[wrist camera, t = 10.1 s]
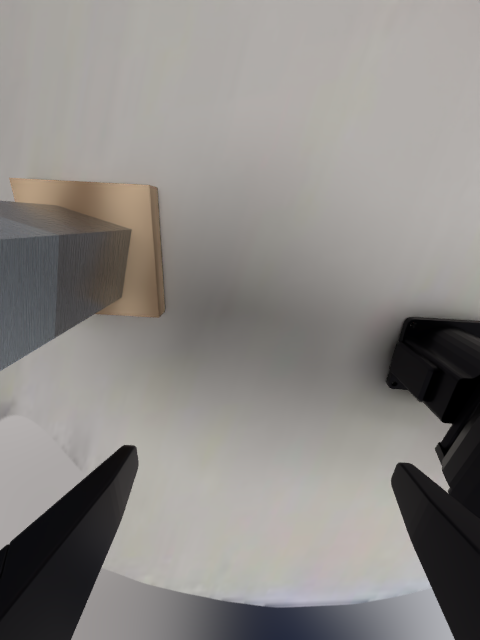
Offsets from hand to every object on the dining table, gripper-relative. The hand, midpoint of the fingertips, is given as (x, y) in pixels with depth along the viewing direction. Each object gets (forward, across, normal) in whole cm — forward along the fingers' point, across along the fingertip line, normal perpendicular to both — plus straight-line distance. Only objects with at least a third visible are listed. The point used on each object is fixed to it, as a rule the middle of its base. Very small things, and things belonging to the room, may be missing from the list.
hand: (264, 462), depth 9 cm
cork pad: (+13, +12, -5) cm, 18 cm away
